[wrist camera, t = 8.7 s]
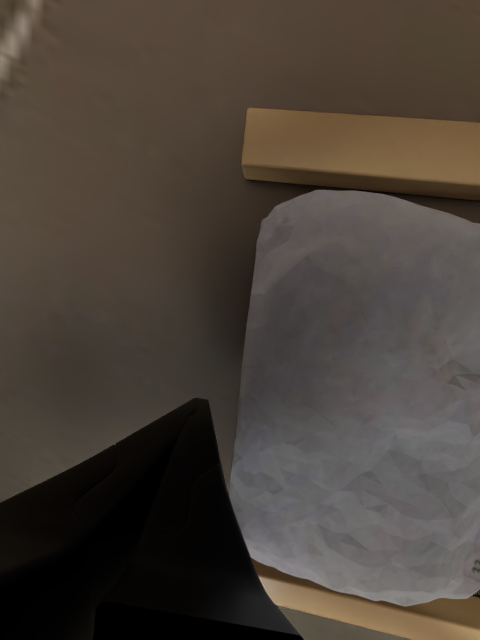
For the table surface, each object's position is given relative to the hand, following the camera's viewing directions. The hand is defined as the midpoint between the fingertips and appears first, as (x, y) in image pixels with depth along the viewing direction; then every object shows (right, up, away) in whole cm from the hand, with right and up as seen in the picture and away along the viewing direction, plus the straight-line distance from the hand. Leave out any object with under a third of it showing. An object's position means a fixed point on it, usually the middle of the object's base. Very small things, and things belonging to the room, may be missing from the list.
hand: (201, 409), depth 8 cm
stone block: (+7, +1, +1) cm, 7 cm away
